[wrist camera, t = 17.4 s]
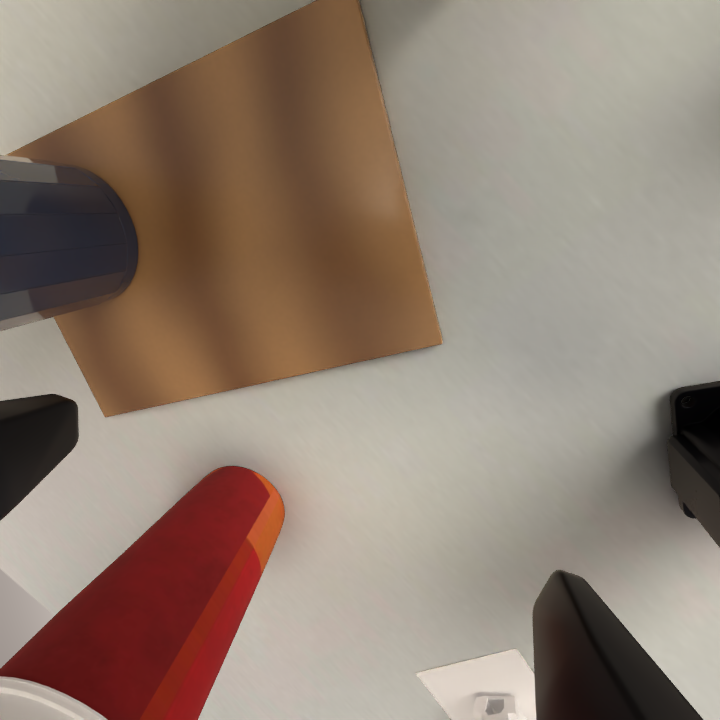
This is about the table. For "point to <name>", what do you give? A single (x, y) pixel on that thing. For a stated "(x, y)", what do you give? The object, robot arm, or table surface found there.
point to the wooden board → (251, 219)
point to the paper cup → (153, 613)
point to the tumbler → (60, 241)
